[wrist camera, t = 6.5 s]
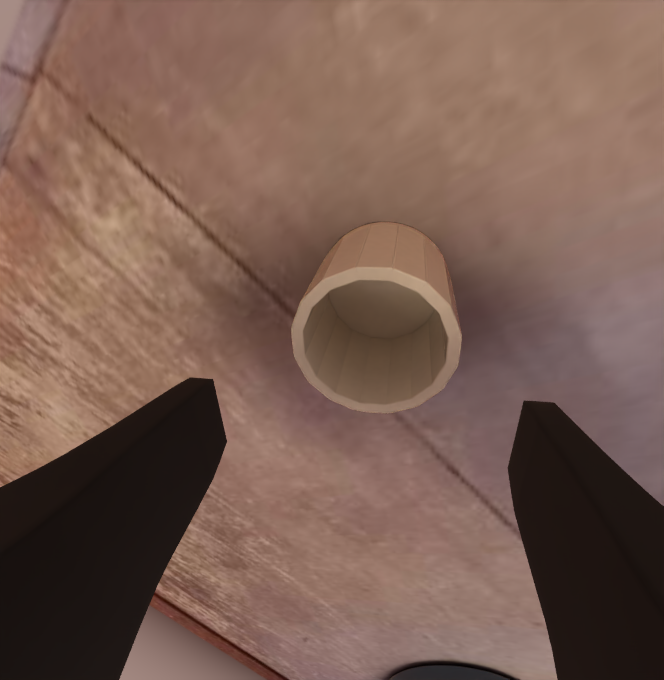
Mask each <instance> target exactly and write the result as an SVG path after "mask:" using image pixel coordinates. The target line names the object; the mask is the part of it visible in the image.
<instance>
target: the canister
mask: <svg viewBox="0 0 664 680" xmlns="http://www.w3.org/2000/svg"><path fill="white" fill-rule="evenodd" d="M389 680H510V679H508V678H506V677H503V676H500V675H498V674H495V673H491V672H488V671H484V670H480V669H475V668H469V667H463V666H453V665H429V666H420V667H414V668H410V669H407V670H404V671H401V672H399V673H397V674H396V675H394V676H393V677H391V678H390V679H389Z"/></svg>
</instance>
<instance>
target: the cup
mask: <svg viewBox="0 0 664 680" xmlns="http://www.w3.org/2000/svg"><path fill="white" fill-rule="evenodd" d="M291 336H292V346H293V355H294V358H295V360H296V362H297V363H298V365H299V367H300V369H301V371H302V372H303V374H304V376H305V378H306V380H307V381H308V382H309V383H310V384H311V385H312V386H314V387H315V388H316V389H317V390H318V391H320V392H321V393H322V394H323V395H324V396H325V397H327V398H328V399H329V400H331V401H333V402H336V403H338V404H340V405H343V406H345V407H348V408H350V409H353V410H355V411H359V412H371V413H384V414H387V413H393V412H398V411H402V410H406V409H410V408H414V407H417V406H419V405H421V404H422V403H424V402H425V401H427V400H428V399H430V398H431V397H433V396H434V395H436V394H437V393H439V392H441V390H443V388H444V387H445V385H446V384H447V382H448V381H449V379H450V378H451V376H452V375H453V373H454V372H455V370H456V369H457V367H458V365H459V358H460V350H461V343H462V333H461V328H460V323H459V318H458V313H457V308H456V302H455V297H454V292H453V287H452V282H451V278H450V275H449V272H448V268H447V264H446V262H445V259H444V257H443V255H442V253H441V252H440V250H439V249H438V247H437V246H436V245H435V244H434V243H433V242H432V241H431V240H430V239H429V238H428V237H427V236H426V235H424V234H423V233H421V232H420V231H418V230H416V229H414V228H412V227H409V226H406V225H403V224H399V223H394V222H376V223H371V224H366V225H364V226H361V227H358V228H356V229H354V230H352V231H350V232H349V233H347V234H346V235H344V236H343V237H342V238H341V239H340V240H339V241H338V242H337V243H336V244H335V245H334V246H333V247H332V249H331V250H330V251H329V252H328V254H327V255H326V257H325V259H324V261H323V262H322V264H321V266H320V268H319V269H318V271H317V273H316V275H315V277H314V278H313V280H312V282H311V284H310V286H309V287H308V289H307V291H306V293H305V294H304V296H303V298H302V300H301V302H300V304H299V307H298V309H297V312H296V315H295V318H294V321H293V323H292V326H291Z"/></svg>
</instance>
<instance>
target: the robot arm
mask: <svg viewBox="0 0 664 680" xmlns="http://www.w3.org/2000/svg"><path fill="white" fill-rule="evenodd" d="M226 443H227V439H226V435H225V431H224V426H223V422H222V417H221V413H220V408H219V404H218V399H217V395H216V390H215V386H214V381H213V379H203V378H189V379H187V380H185V381H183V382H181V383H180V384H178V385H176V386H175V387H173V388H171V389H170V390H168V391H167V392H165V393H163V394H162V395H160V396H159V397H157V398H156V399H154V400H152V401H151V402H149V403H148V404H146V405H145V406H143V407H142V408H140V409H138V410H137V411H135V412H134V413H132V414H131V415H129V416H127V417H126V418H124V419H123V420H121V421H120V422H118V423H116V424H115V425H113V426H112V427H110V428H108V429H107V430H105V431H103V432H102V433H100V434H98V435H96V436H95V437H93V438H91V439H90V440H88V441H86V442H85V443H83V444H81V445H80V446H78V447H76V448H74V449H73V450H71V451H69V452H68V453H66V454H64V455H62V456H61V457H59V458H57V459H55V460H53V461H51V462H50V463H48V464H46V465H44V466H42V467H40V468H38V469H36V470H34V471H32V472H30V473H28V474H26V475H24V476H22V477H20V478H18V479H16V480H14V481H12V482H11V483H8V484H6V485H4V486H2V487H0V680H119V679H120V676H121V673H122V671H123V668H124V666H125V663H126V661H127V658H128V656H129V653H130V651H131V648H132V645H133V643H134V640H135V638H136V635H137V633H138V630H139V628H140V625H141V623H142V621H143V618H144V616H145V614H146V611H147V609H148V606H149V604H150V602H151V599H152V597H153V595H154V592H155V590H156V588H157V585H158V583H159V581H160V579H161V577H162V575H163V573H164V571H165V569H166V567H167V565H168V563H169V561H170V559H171V557H172V555H173V553H174V551H175V550H176V548H177V546H178V544H179V542H180V540H181V538H182V537H183V535H184V533H185V531H186V529H187V527H188V525H189V524H190V522H191V520H192V518H193V516H194V514H195V512H196V510H197V509H198V507H199V505H200V503H201V501H202V499H203V497H204V495H205V493H206V491H207V490H208V488H209V486H210V484H211V482H212V480H213V478H214V475H215V473H216V470H217V467H218V465H219V462H220V460H221V457H222V454H223V451H224V448H225V446H226ZM508 473H509V480H510V487H511V494H512V500H513V506H514V512H515V516H516V520H517V523H518V527H519V530H520V534H521V538H522V541H523V545H524V548H525V552H526V555H527V559H528V562H529V566H530V569H531V573H532V576H533V580H534V583H535V587H536V590H537V594H538V597H539V601H540V604H541V608H542V611H543V615H544V618H545V622H546V626H547V630H548V634H549V639H550V643H551V647H552V652H553V657H554V662H555V668H556V673H557V678H558V680H664V506H663V505H661V504H660V503H659V502H658V501H657V500H656V499H654V498H653V497H652V496H651V495H650V494H649V493H648V492H647V491H645V490H644V489H643V488H642V487H641V486H640V485H639V484H638V483H637V482H635V481H634V480H633V479H632V478H631V477H630V476H629V475H628V474H627V473H626V472H625V471H624V470H623V469H621V468H620V467H619V466H618V465H617V464H616V463H615V462H614V461H613V460H612V459H611V458H610V457H609V456H608V455H607V454H606V453H605V452H604V451H603V450H602V449H601V448H600V447H599V446H598V445H597V444H596V443H595V442H594V441H592V440H591V439H590V438H589V437H588V436H587V435H586V434H585V433H584V432H583V431H582V430H581V429H580V428H579V427H578V426H577V425H576V424H575V423H574V422H573V421H572V420H571V419H570V418H569V417H568V416H567V415H566V414H565V413H564V412H563V411H562V410H561V409H560V408H559V407H558V406H557V405H556V404H555V403H552V402H537V401H524V402H523V406H522V410H521V415H520V419H519V423H518V427H517V431H516V436H515V440H514V444H513V448H512V452H511V457H510V461H509V465H508Z"/></svg>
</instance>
